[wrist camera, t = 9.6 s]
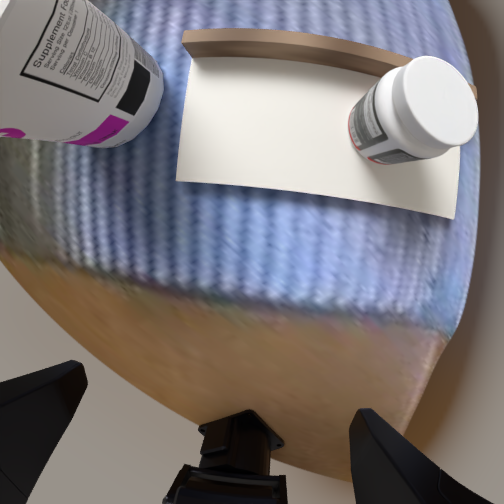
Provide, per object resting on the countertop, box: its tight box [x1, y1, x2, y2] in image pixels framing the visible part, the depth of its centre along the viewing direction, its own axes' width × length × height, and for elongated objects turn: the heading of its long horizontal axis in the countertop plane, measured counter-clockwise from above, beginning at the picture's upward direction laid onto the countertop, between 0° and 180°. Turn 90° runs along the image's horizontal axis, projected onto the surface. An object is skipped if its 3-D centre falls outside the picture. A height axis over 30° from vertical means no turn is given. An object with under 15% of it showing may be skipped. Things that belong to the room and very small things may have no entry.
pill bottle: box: [348, 56, 478, 165], centre depth 12 cm, size 5×5×8 cm
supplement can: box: [0, 0, 164, 148], centre depth 10 cm, size 8×8×15 cm
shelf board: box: [176, 28, 477, 219], centre depth 15 cm, size 20×10×4 cm, turn 85°
